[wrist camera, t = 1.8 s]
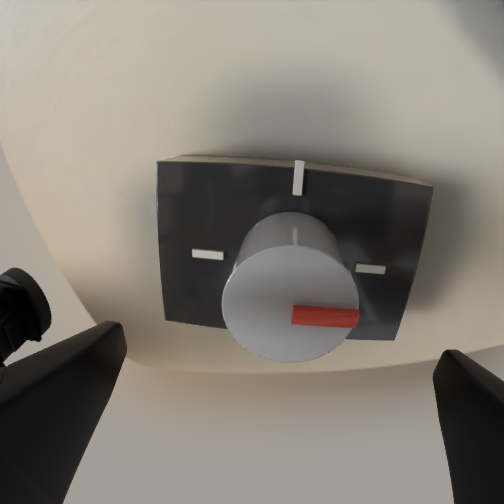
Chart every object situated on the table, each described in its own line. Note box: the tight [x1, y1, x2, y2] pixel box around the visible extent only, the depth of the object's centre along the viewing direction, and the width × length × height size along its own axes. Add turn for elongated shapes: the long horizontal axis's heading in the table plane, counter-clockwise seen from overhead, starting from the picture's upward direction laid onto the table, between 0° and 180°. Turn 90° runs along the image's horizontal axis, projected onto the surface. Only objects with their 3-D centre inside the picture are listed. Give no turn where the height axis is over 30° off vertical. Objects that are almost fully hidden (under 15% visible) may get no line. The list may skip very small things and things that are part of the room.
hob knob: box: [222, 212, 360, 363], centre depth 11 cm, size 4×4×4 cm
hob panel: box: [156, 156, 433, 340], centre depth 15 cm, size 12×9×3 cm
